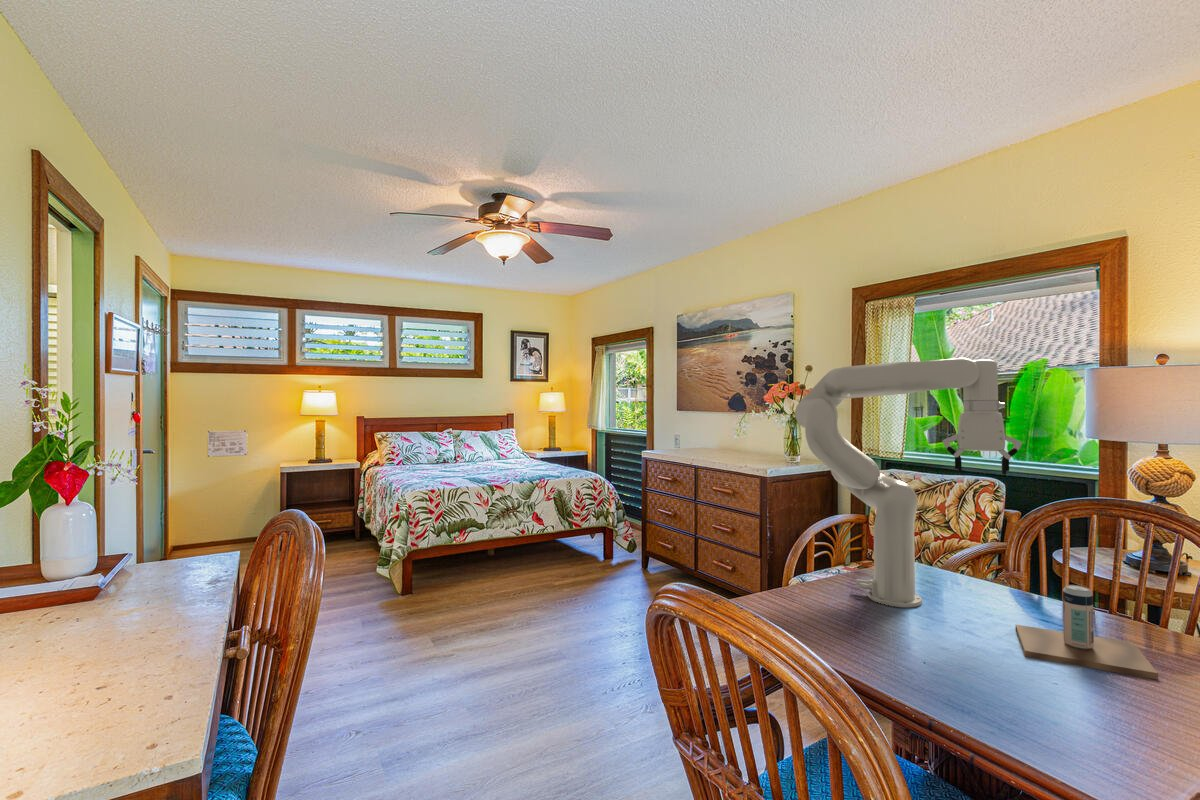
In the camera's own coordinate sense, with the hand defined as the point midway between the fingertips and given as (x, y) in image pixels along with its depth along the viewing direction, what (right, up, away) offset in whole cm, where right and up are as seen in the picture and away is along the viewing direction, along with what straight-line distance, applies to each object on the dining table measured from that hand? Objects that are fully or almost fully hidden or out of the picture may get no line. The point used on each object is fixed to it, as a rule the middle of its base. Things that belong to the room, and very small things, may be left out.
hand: (981, 473), depth 150 cm
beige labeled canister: (-1, -32, -31) cm, 45 cm away
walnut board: (0, -33, -31) cm, 45 cm away
